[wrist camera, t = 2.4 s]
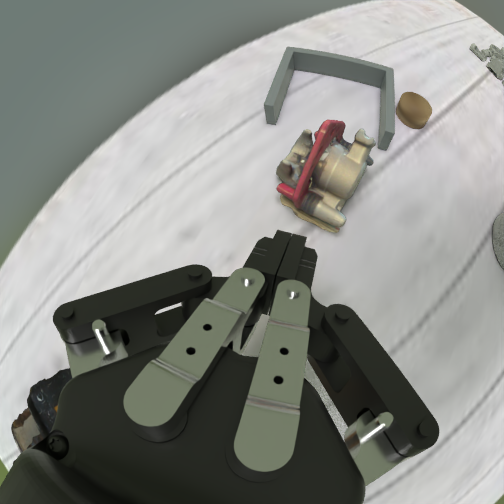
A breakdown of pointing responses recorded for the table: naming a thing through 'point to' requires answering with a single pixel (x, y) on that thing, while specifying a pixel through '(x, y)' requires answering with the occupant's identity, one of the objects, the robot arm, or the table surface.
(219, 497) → the robot arm
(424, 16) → the table surface
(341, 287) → the table surface
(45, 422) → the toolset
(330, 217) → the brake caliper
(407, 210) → the table surface
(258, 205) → the table surface
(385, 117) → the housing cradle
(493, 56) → the robot parts
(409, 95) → the tan rounded lump
